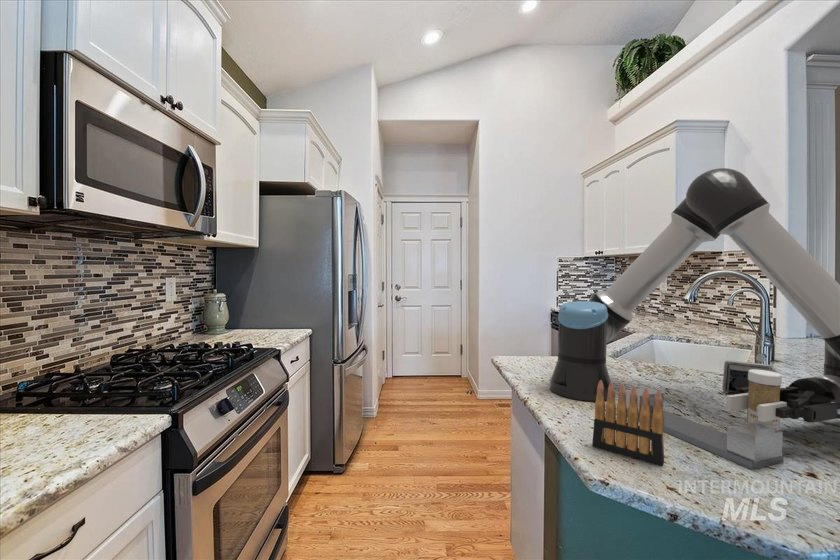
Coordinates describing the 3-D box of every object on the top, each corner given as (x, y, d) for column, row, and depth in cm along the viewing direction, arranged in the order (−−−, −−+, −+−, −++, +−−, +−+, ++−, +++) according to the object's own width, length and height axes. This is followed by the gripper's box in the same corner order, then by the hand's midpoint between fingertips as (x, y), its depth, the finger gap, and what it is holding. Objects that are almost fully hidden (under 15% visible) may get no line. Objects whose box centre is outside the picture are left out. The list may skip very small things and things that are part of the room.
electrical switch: (768, 398, 96) (770, 363, 95) (773, 406, 92) (775, 369, 91) (721, 391, 101) (723, 358, 100) (724, 398, 97) (725, 363, 96)
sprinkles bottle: (751, 447, 68) (754, 373, 68) (741, 437, 72) (743, 367, 72) (784, 452, 66) (787, 376, 66) (771, 441, 70) (774, 370, 70)
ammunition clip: (592, 446, 67) (593, 380, 67) (594, 443, 69) (596, 377, 68) (662, 466, 61) (664, 392, 60) (664, 462, 62) (666, 390, 62)
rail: (621, 413, 84) (622, 390, 83) (648, 409, 86) (648, 387, 86) (752, 469, 60) (753, 437, 60) (783, 462, 63) (784, 431, 62)
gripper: (886, 432, 67) (806, 451, 59) (768, 400, 83) (693, 411, 76) (887, 391, 67) (807, 403, 59) (769, 367, 83) (695, 374, 75)
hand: (744, 408), depth 67 cm, fingers closed on sprinkles bottle, 4 cm apart
